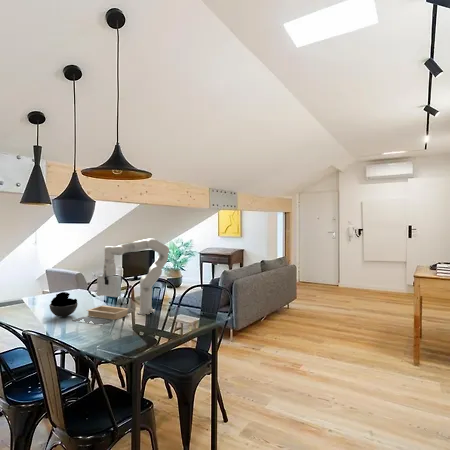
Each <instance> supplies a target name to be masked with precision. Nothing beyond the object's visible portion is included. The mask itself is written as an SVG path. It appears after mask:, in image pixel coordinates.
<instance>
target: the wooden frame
mask: <svg viewBox="0 0 450 450" xmlns="http://www.w3.org/2000/svg"><path fill="white" fill-rule="evenodd" d="M86 311H87V317H92V316H93V317H92V318H98V319H105V320H107V319H108V320H114V321H115V320H119V319H121V318H124V317H127V316H128V311H129V308H127V307H119V306H110V305H100V306H96V307H93V308H90V309H87V310H86Z"/></svg>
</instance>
